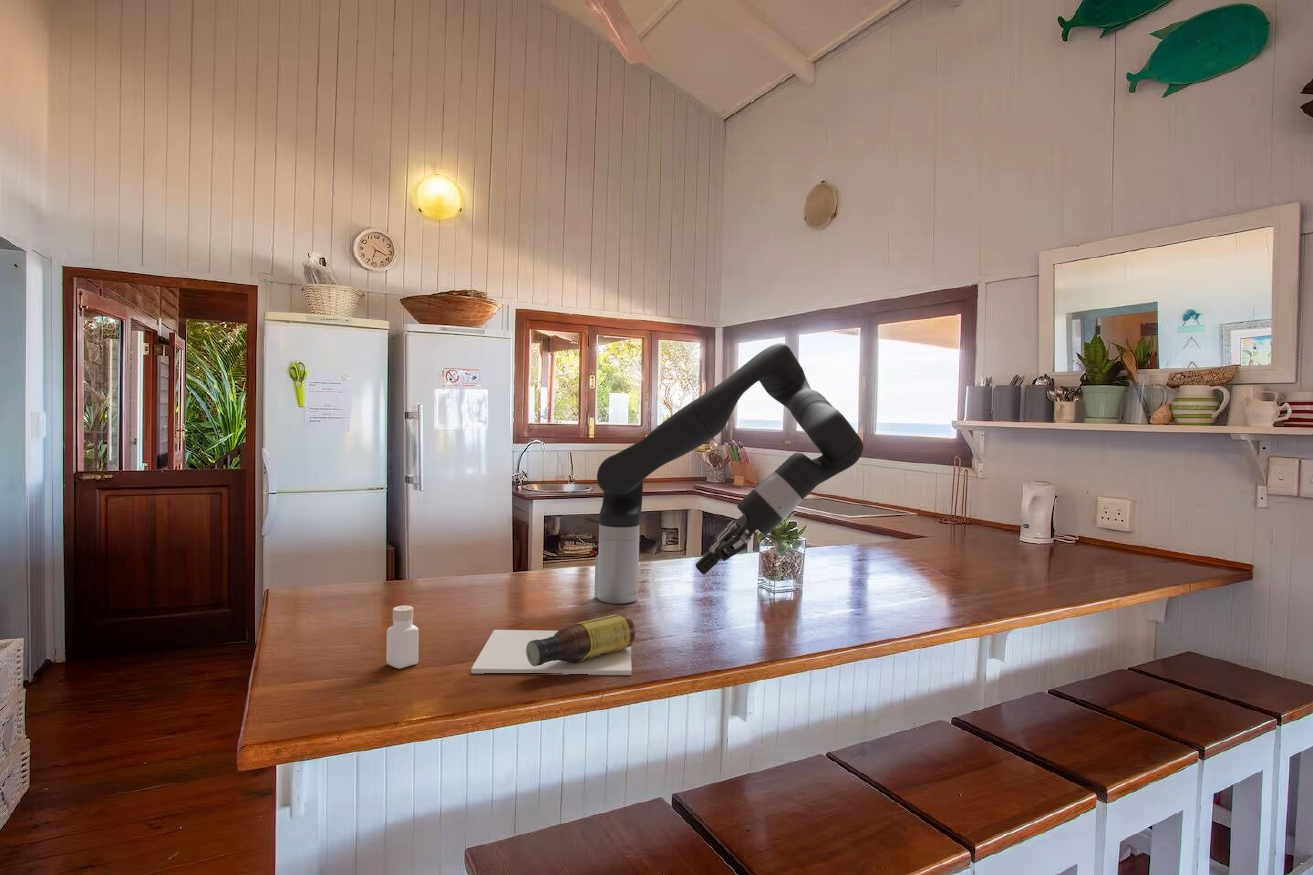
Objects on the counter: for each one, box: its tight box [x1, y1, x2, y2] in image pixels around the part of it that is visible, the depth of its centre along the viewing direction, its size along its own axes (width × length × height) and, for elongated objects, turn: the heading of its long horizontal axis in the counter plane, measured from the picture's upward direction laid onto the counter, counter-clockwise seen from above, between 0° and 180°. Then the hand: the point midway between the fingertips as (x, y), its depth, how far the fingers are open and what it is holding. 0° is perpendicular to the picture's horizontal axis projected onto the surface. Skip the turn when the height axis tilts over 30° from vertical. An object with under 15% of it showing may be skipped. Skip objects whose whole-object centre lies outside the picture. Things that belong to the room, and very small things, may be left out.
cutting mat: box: [470, 629, 633, 676], centre depth 125 cm, size 26×20×1 cm
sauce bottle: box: [526, 613, 636, 666], centre depth 120 cm, size 6×6×20 cm
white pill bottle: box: [385, 605, 420, 670], centre depth 117 cm, size 4×4×10 cm
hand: (699, 570), depth 125 cm, fingers closed
